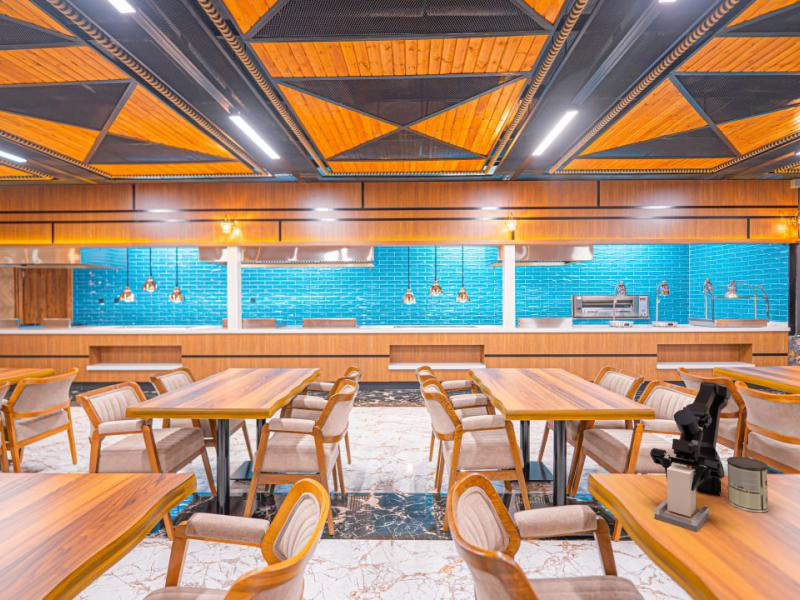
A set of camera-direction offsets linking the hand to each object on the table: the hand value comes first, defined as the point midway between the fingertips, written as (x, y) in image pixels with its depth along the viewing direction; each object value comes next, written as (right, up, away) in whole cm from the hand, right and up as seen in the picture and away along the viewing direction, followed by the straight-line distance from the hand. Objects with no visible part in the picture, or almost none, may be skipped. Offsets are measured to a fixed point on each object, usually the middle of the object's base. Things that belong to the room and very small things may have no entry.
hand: (680, 487), depth 134 cm
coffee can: (+27, -10, +9) cm, 30 cm away
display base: (+1, -10, +1) cm, 10 cm away
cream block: (+1, -7, +1) cm, 7 cm away
